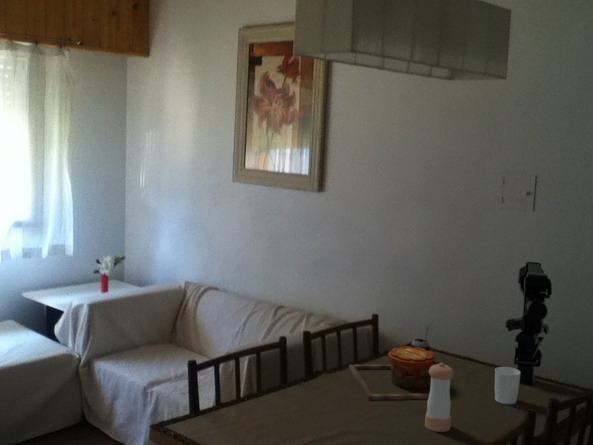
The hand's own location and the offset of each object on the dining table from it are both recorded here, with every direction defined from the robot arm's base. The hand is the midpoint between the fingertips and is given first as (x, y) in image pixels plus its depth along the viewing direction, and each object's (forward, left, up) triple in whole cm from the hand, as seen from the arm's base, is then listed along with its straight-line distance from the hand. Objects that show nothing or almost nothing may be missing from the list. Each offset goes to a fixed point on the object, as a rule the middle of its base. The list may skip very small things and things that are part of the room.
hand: (530, 358), depth 228 cm
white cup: (+8, -5, -13) cm, 16 cm away
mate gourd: (-12, -43, -13) cm, 47 cm away
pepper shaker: (+41, -15, -13) cm, 46 cm away
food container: (+12, -36, -13) cm, 40 cm away
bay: (+15, -40, -13) cm, 45 cm away
